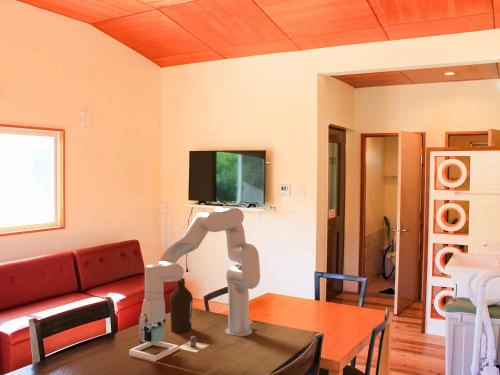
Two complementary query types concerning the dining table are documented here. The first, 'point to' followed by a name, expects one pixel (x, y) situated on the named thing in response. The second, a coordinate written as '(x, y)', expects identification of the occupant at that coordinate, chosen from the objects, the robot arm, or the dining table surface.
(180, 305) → the olive oil
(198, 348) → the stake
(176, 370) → the dining table surface
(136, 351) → the white square frame
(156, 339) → the collar
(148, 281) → the robot arm
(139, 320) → the soda can
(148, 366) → the dining table surface
